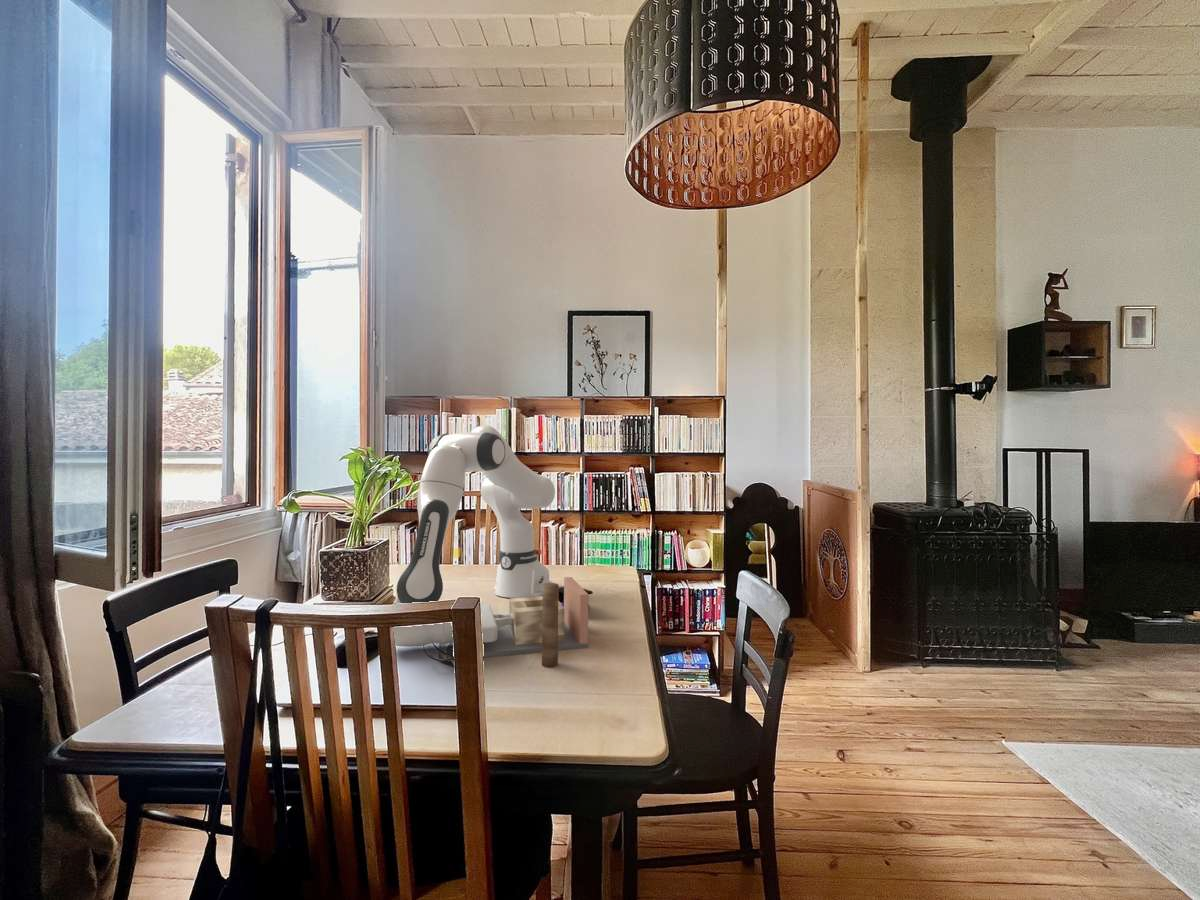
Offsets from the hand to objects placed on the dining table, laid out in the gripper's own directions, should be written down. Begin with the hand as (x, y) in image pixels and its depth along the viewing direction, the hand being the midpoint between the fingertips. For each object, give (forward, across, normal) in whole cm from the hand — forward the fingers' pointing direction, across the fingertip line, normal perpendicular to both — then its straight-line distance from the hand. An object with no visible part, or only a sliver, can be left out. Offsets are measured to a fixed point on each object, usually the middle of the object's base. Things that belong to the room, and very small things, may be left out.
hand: (512, 619), depth 143 cm
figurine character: (+20, +20, +6) cm, 29 cm away
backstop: (+4, 0, +5) cm, 7 cm away
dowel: (+6, -17, +5) cm, 19 cm away
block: (+6, 0, +4) cm, 7 cm away
